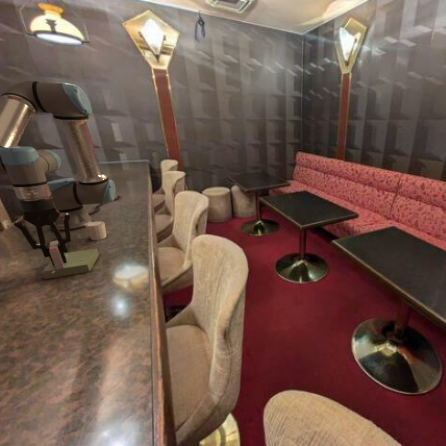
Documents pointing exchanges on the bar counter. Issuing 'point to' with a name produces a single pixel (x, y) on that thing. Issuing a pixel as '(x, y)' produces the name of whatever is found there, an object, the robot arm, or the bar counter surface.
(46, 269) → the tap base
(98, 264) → the bar counter surface
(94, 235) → the white cylinder
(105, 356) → the bar counter surface
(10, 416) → the bar counter surface
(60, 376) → the bar counter surface
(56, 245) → the white flat box
